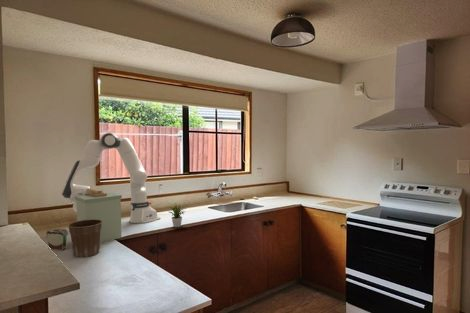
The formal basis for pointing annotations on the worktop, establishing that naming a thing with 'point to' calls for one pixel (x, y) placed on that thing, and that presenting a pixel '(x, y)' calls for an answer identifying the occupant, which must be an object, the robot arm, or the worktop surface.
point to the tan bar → (94, 191)
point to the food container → (57, 239)
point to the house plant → (177, 215)
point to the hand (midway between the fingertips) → (91, 190)
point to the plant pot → (85, 237)
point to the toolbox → (102, 212)
